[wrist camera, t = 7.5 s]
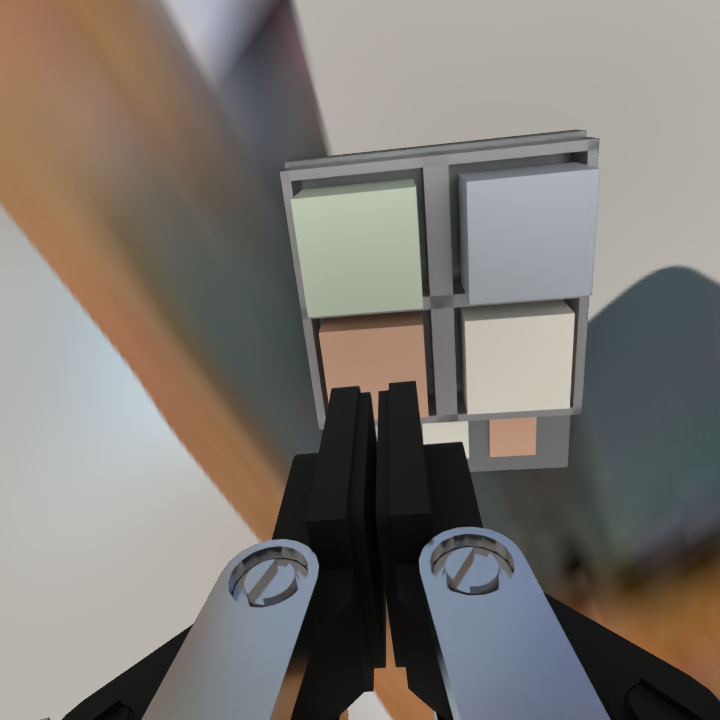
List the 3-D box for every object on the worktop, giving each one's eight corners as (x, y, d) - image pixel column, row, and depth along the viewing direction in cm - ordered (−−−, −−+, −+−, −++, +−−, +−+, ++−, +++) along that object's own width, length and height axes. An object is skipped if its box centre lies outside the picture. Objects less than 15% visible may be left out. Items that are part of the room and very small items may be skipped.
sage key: (413, 178, 23) (415, 187, 20) (420, 286, 24) (423, 308, 22) (303, 189, 23) (290, 199, 20) (317, 294, 25) (308, 317, 22)
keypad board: (576, 129, 25) (605, 132, 21) (560, 451, 32) (580, 493, 28) (290, 160, 26) (274, 167, 23) (334, 463, 33) (326, 504, 29)
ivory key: (556, 292, 26) (574, 313, 23) (552, 379, 28) (569, 408, 25) (457, 300, 27) (465, 321, 24) (460, 385, 28) (467, 414, 26)
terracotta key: (420, 303, 27) (423, 324, 24) (425, 388, 29) (428, 416, 26) (326, 310, 27) (318, 332, 24) (337, 393, 29) (331, 422, 26)
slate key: (574, 161, 22) (600, 168, 19) (569, 274, 24) (591, 295, 21) (458, 173, 22) (466, 182, 20) (461, 283, 24) (469, 304, 22)
